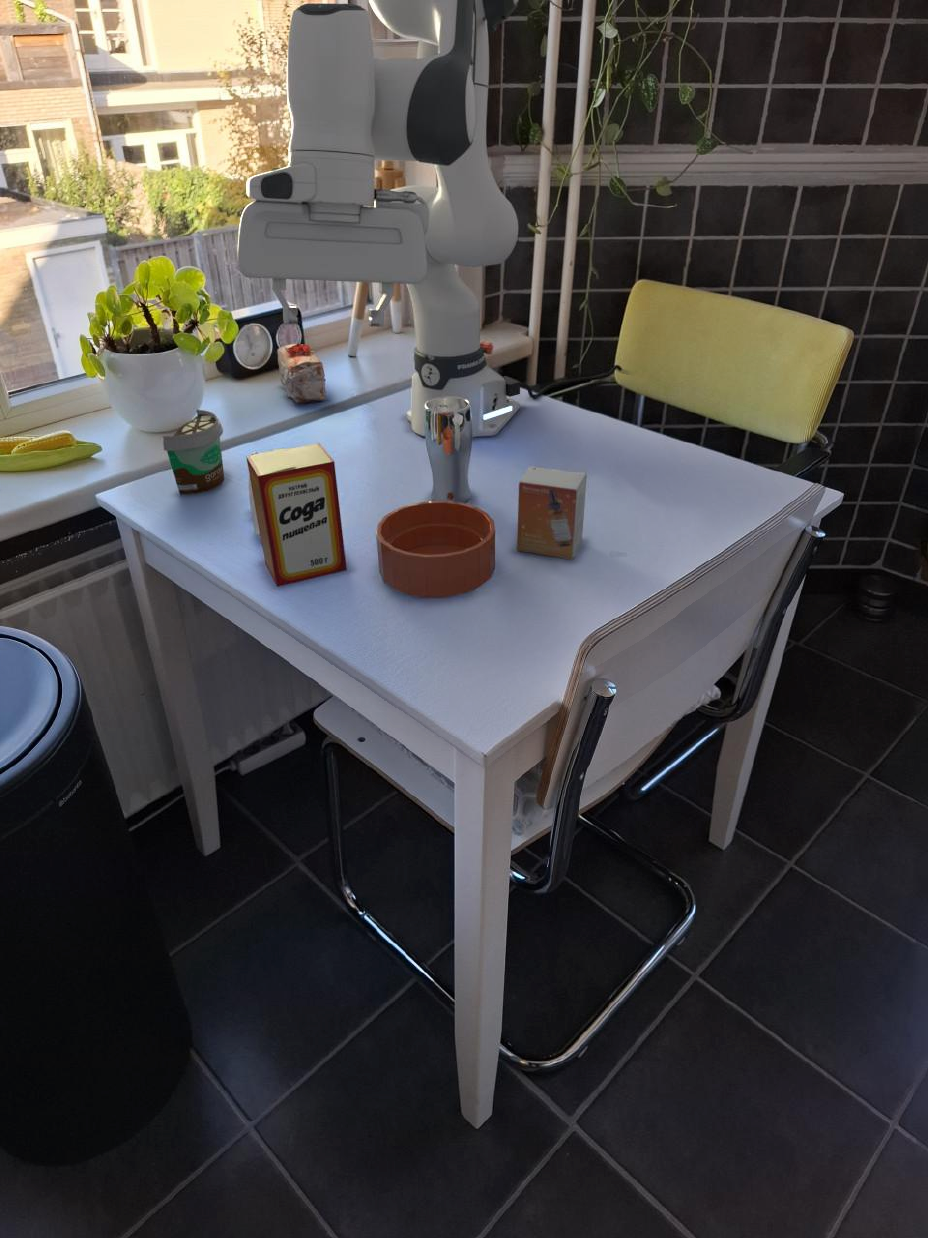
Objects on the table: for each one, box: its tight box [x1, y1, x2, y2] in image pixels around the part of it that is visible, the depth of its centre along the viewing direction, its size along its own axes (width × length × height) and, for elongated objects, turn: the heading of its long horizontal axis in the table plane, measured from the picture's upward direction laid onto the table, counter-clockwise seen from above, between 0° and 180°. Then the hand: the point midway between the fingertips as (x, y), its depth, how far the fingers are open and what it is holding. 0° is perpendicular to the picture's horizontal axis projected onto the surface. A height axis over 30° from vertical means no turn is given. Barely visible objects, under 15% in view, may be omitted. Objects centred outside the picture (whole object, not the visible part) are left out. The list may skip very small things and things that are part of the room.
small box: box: [516, 465, 588, 561], centre depth 117 cm, size 8×6×10 cm
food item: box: [277, 342, 327, 404], centre depth 171 cm, size 14×8×10 cm, turn 24°
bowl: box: [375, 500, 496, 599], centre depth 113 cm, size 15×15×6 cm
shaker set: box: [248, 451, 261, 538], centre depth 123 cm, size 12×4×11 cm, turn 14°
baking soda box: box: [246, 442, 348, 588], centre depth 112 cm, size 10×6×16 cm
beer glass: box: [424, 396, 473, 504], centre depth 129 cm, size 7×7×15 cm
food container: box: [162, 409, 225, 495], centre depth 137 cm, size 12×6×10 cm, turn 168°
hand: (333, 324), depth 97 cm, fingers open, 8 cm apart
